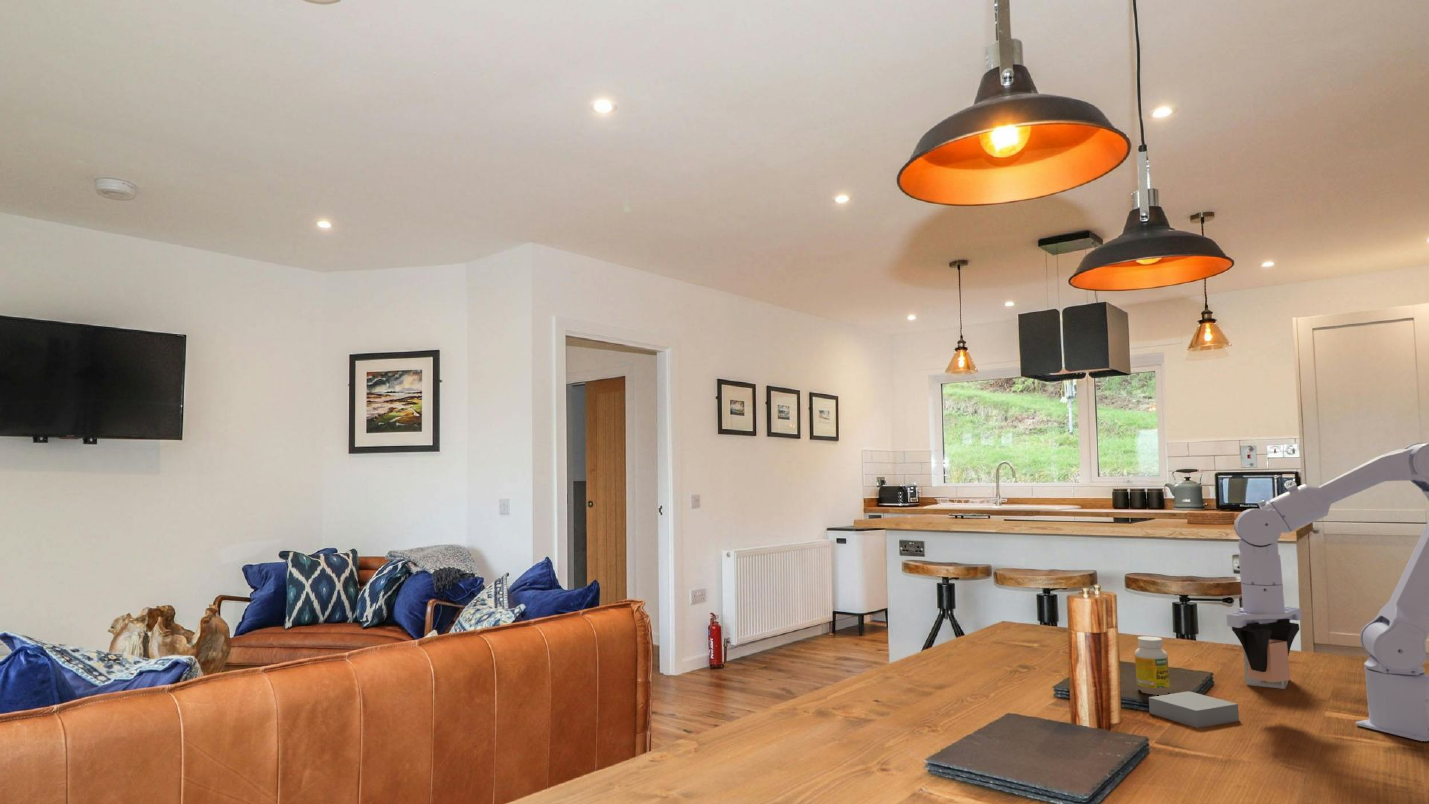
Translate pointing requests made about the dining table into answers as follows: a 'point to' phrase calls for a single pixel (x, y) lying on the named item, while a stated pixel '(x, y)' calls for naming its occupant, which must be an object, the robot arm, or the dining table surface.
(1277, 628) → the robot arm
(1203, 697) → the slate block
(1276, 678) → the terracotta block
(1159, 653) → the supplement bottle
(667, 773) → the dining table surface
